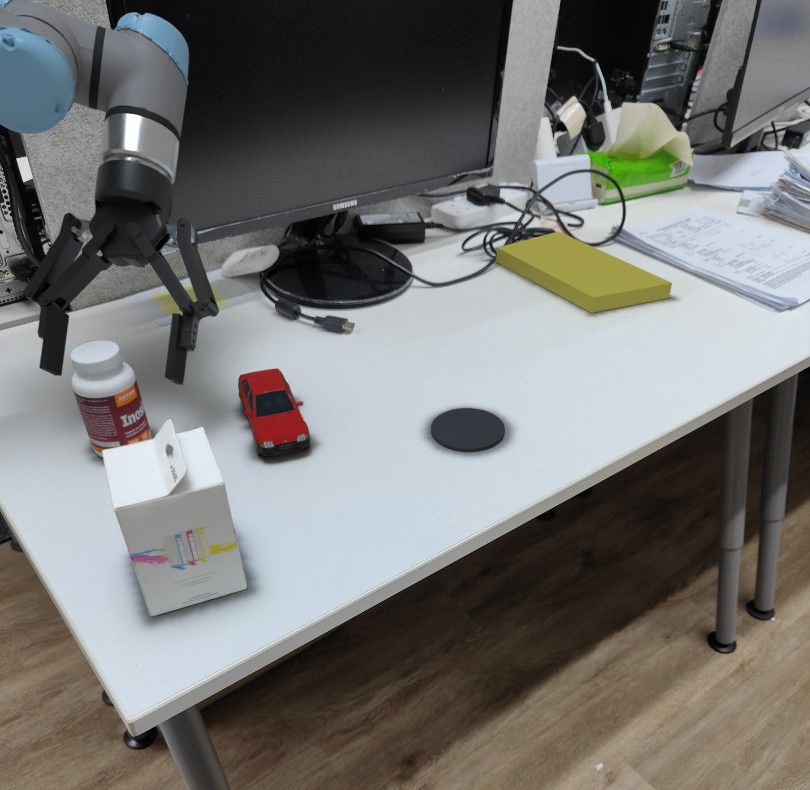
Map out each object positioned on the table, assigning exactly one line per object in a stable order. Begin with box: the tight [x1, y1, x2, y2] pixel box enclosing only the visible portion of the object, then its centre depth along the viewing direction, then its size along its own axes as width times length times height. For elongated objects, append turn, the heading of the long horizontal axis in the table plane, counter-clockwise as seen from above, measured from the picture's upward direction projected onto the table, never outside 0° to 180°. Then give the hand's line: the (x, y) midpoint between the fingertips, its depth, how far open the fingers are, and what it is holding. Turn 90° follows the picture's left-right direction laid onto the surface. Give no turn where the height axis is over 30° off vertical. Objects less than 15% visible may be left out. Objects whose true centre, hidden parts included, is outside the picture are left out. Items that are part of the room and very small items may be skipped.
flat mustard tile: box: [495, 231, 673, 314], centre depth 111 cm, size 12×2×24 cm
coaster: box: [430, 407, 506, 453], centre depth 83 cm, size 8×8×1 cm
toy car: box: [237, 367, 311, 457], centre depth 83 cm, size 6×14×5 cm, turn 19°
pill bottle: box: [69, 340, 152, 458], centre depth 78 cm, size 6×6×11 cm
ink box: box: [102, 418, 248, 617], centre depth 62 cm, size 9×8×13 cm
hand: (111, 376), depth 78 cm, fingers open, 13 cm apart
